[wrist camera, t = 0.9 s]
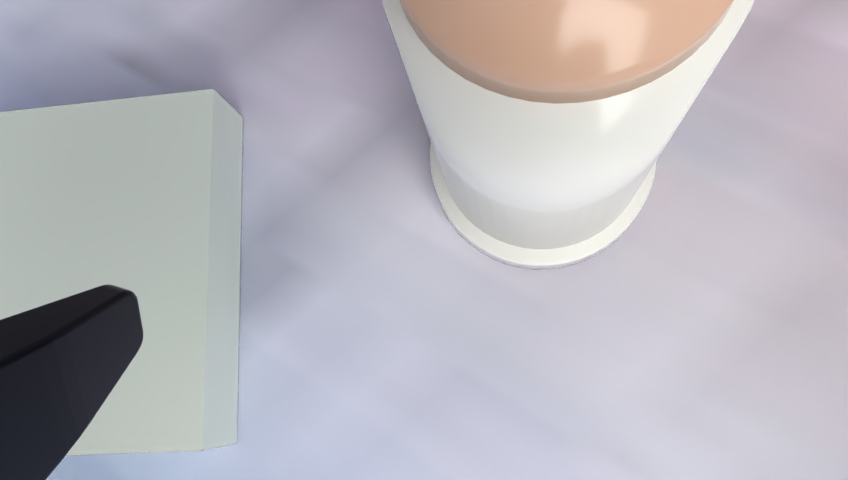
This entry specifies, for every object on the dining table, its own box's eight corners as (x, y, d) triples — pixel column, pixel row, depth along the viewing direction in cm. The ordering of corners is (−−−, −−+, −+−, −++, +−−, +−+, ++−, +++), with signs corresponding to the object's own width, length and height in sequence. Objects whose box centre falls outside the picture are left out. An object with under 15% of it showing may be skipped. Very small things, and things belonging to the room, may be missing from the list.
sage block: (236, 443, 22) (202, 450, 20) (-26, 452, 23) (-89, 460, 21) (242, 117, 25) (213, 88, 22) (6, 141, 26) (-46, 117, 24)
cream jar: (660, 261, 21) (864, 92, 9) (440, 276, 22) (343, 141, 10) (634, 59, 23) (775, -326, 11) (430, 81, 24) (336, -250, 11)
